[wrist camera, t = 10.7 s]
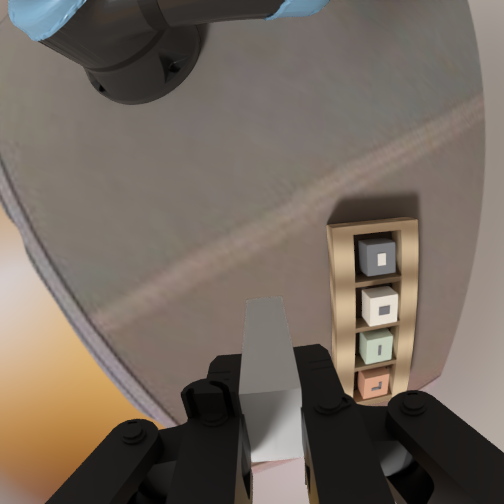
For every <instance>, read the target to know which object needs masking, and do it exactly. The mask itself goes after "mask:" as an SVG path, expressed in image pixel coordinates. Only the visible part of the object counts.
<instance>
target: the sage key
mask: <svg viewBox="0 0 504 504" xmlns="http://www.w3.org/2000/svg"><path fill="white" fill-rule="evenodd" d="M392 343H393V335H392V334H391V333H390V331H389V330H388V329H387V328H386V327H385V328H380V329H375V330H369V331H364V332H360V342H359V353H360V355H361V357H362V358H363V360H364V362H365V364H371V363H376V362H381V361H385V360H390V359H391V355H392Z"/></svg>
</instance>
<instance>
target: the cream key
mask: <svg viewBox="0 0 504 504" xmlns="http://www.w3.org/2000/svg"><path fill="white" fill-rule="evenodd" d="M397 310H398V293H396V292H395V291H394V290H393V289H392V288H390V287H389V286H383V287H376V288H370V289H363V290H362V317H363V318H364V319H365V321H366V322H367V323H368V325H369V326H370V327H371V326H376V325H382V324H387V323H392V322H397Z"/></svg>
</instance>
